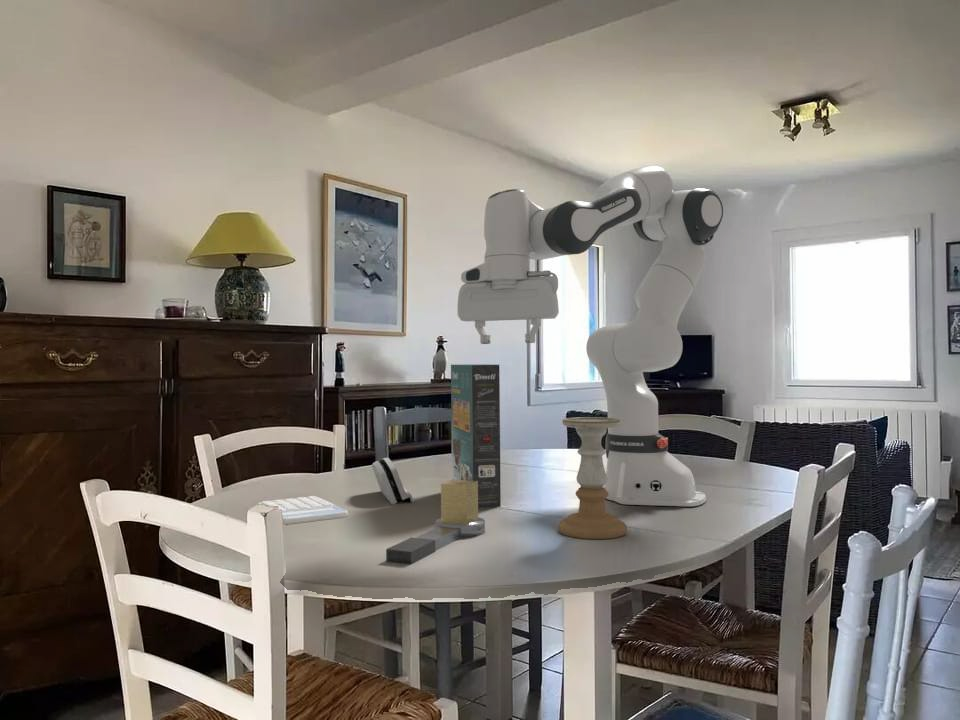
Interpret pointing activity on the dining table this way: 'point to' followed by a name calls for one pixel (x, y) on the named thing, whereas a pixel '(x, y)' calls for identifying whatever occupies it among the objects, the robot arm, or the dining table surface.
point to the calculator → (306, 509)
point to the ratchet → (432, 541)
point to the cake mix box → (476, 429)
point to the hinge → (390, 481)
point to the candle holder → (592, 484)
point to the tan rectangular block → (459, 502)
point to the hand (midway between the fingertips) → (507, 343)
